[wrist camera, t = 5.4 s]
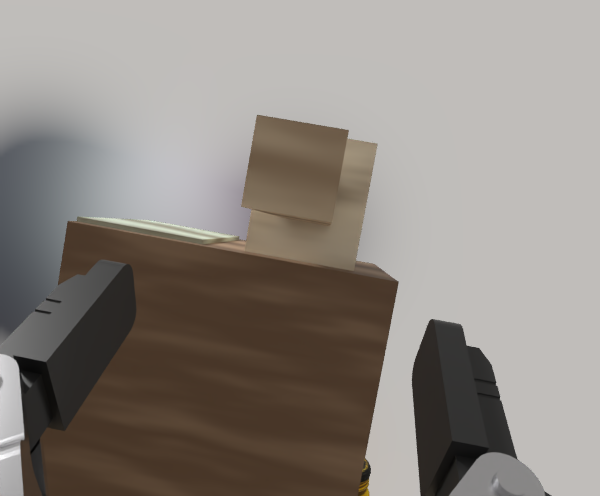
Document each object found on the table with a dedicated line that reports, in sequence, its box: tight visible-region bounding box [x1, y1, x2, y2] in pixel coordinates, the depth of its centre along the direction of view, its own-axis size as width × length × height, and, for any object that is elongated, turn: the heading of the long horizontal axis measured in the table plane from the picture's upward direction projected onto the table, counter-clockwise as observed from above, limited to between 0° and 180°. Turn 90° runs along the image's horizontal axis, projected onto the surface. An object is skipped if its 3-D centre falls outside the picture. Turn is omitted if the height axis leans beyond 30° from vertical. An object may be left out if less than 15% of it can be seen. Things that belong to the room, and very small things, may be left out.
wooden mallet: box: [241, 115, 377, 271], centre depth 27 cm, size 24×7×8 cm, turn 177°
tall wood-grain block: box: [41, 217, 398, 496], centre depth 35 cm, size 14×20×32 cm
